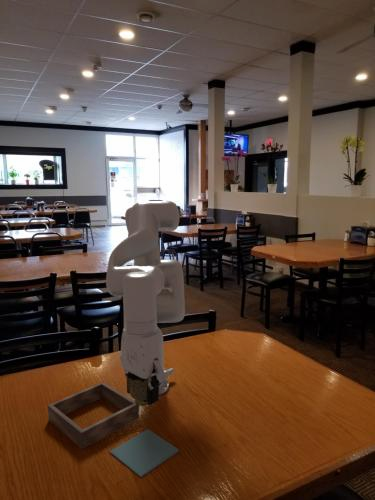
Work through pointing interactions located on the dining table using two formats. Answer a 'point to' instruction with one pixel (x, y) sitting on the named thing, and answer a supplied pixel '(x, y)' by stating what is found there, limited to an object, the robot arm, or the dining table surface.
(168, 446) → the light blue square plate
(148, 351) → the robot arm
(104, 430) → the grey square frame
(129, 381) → the dark rounded piece
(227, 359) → the dining table surface
